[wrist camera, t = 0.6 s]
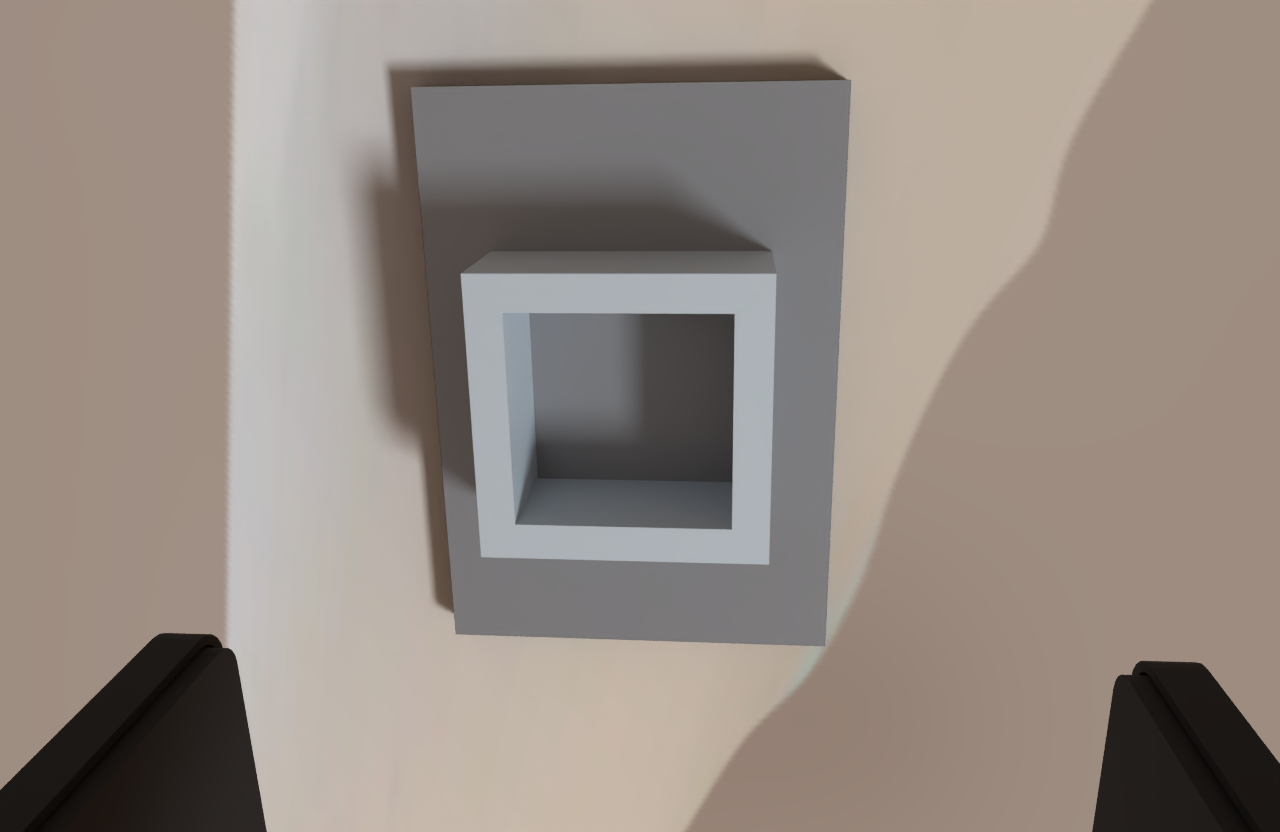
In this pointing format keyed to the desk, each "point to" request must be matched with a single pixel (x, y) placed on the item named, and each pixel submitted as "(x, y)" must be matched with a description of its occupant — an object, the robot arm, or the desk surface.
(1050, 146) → the desk surface
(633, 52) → the desk surface
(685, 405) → the housing
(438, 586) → the desk surface
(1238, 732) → the robot arm
